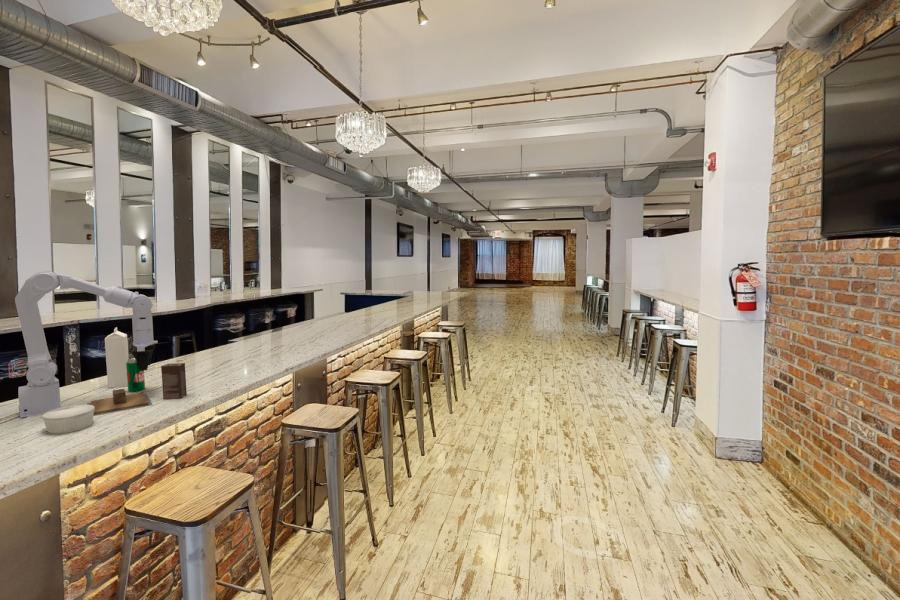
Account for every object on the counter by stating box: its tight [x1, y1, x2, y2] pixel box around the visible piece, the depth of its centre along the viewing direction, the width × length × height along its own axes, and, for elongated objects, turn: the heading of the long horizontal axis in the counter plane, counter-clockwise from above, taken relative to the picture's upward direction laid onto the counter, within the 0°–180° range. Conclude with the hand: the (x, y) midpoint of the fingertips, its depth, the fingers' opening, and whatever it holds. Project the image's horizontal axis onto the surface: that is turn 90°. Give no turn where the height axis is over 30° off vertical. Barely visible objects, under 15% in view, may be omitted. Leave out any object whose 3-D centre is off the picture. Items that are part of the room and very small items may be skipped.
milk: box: [104, 326, 130, 389], centre depth 162 cm, size 6×6×22 cm
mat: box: [86, 393, 154, 417], centre depth 141 cm, size 16×16×1 cm
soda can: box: [126, 357, 146, 393], centre depth 155 cm, size 5×5×12 cm
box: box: [160, 362, 188, 400], centre depth 148 cm, size 6×4×12 cm
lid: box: [90, 388, 149, 415], centre depth 140 cm, size 14×14×4 cm
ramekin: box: [42, 404, 95, 434], centre depth 122 cm, size 11×11×5 cm
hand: (145, 367), depth 151 cm, fingers open, 7 cm apart
